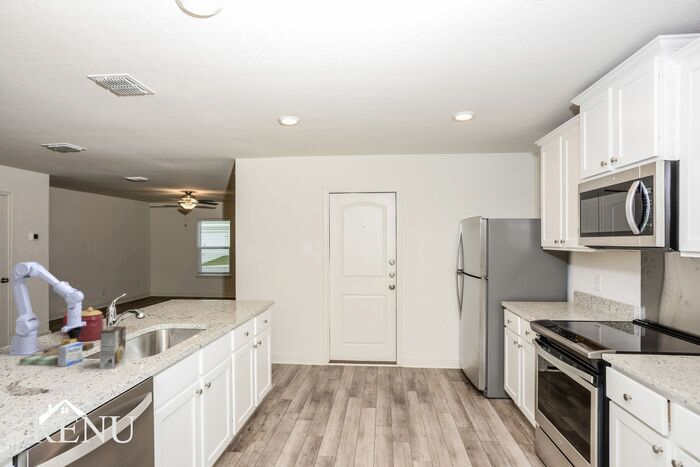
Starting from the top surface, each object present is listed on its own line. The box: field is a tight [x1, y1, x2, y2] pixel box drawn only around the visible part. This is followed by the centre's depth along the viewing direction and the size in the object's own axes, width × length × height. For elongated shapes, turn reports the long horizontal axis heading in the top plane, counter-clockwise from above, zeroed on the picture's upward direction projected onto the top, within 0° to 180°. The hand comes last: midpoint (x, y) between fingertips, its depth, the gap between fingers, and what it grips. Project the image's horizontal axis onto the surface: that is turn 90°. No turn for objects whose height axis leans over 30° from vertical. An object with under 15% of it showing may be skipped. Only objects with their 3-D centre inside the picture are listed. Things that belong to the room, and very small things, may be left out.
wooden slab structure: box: [19, 342, 95, 366], centre depth 176 cm, size 15×26×2 cm, turn 1°
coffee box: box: [99, 325, 127, 370], centre depth 163 cm, size 9×6×16 cm
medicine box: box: [57, 341, 83, 367], centre depth 165 cm, size 8×4×9 cm, turn 168°
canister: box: [77, 306, 105, 343], centre depth 206 cm, size 13×13×18 cm
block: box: [60, 338, 78, 346], centre depth 181 cm, size 4×4×4 cm
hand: (73, 343), depth 185 cm, fingers closed
